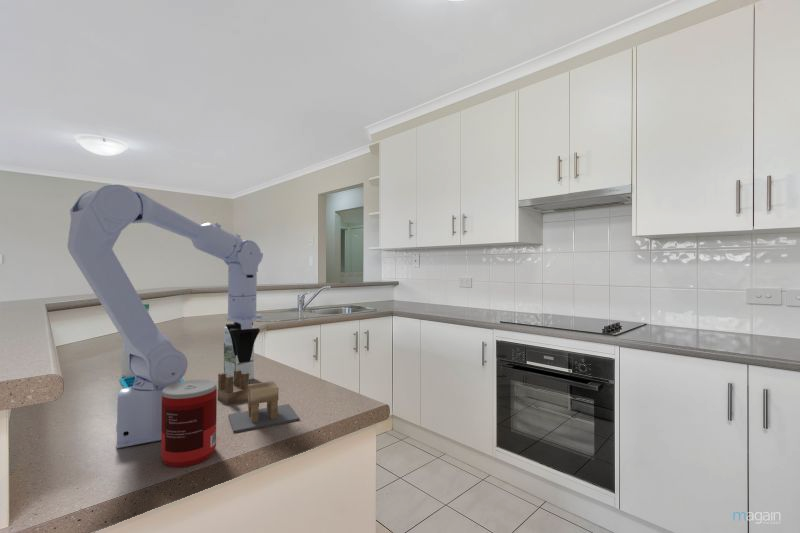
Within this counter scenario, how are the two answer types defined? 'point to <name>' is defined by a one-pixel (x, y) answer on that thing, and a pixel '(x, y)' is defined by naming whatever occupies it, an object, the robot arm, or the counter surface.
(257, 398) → the oak stool
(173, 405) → the canned food
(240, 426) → the mat
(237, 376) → the upturned walnut stool
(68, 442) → the counter surface
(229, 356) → the syrup box
